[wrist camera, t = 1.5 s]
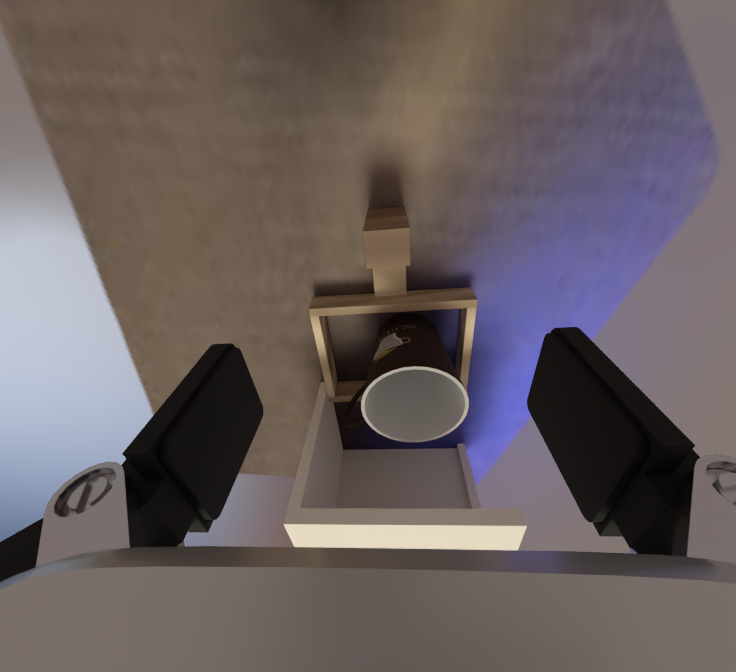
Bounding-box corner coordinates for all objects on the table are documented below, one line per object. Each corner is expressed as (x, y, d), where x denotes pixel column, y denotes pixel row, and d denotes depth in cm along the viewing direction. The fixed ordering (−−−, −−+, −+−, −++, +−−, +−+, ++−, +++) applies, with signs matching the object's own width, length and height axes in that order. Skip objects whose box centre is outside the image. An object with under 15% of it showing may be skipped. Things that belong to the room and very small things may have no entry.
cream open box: (320, 382, 37) (283, 524, 24) (473, 376, 35) (527, 526, 22) (337, 454, 45) (316, 593, 31) (463, 452, 43) (498, 598, 30)
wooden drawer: (297, 214, 26) (271, 238, 20) (479, 199, 25) (509, 219, 19) (332, 386, 37) (322, 435, 31) (461, 382, 36) (476, 432, 30)
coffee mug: (444, 296, 30) (466, 358, 22) (450, 364, 35) (471, 437, 26) (331, 316, 32) (311, 380, 24) (351, 377, 36) (341, 450, 28)
